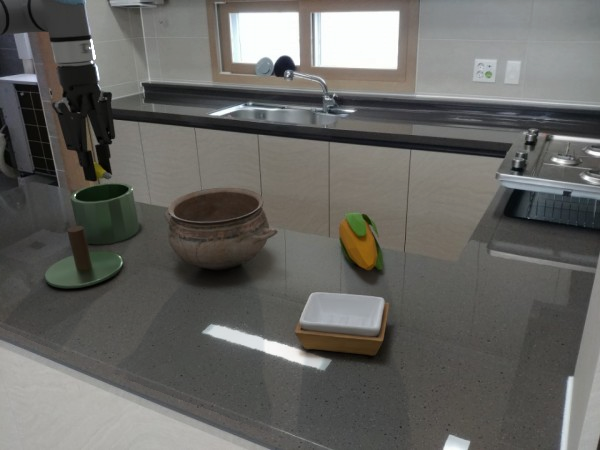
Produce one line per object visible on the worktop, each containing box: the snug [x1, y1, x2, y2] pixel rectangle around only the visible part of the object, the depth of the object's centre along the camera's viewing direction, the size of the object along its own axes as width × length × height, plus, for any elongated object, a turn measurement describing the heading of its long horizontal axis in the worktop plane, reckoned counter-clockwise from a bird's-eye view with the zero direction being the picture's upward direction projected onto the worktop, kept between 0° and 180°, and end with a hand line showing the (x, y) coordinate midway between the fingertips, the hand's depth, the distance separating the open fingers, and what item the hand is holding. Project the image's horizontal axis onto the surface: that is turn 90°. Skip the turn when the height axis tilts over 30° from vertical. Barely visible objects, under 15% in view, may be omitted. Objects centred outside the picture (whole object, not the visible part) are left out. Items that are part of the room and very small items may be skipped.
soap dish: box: [294, 291, 390, 357], centre depth 79 cm, size 12×10×5 cm
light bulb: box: [93, 161, 112, 180], centre depth 114 cm, size 3×6×4 cm, turn 71°
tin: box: [70, 182, 140, 246], centre depth 117 cm, size 13×13×10 cm
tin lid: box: [44, 225, 123, 289], centre depth 100 cm, size 14×14×9 cm
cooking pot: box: [164, 187, 278, 272], centre depth 101 cm, size 25×19×12 cm
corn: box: [338, 212, 384, 271], centre depth 101 cm, size 7×8×20 cm
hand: (98, 177), depth 114 cm, fingers closed on light bulb, 3 cm apart
